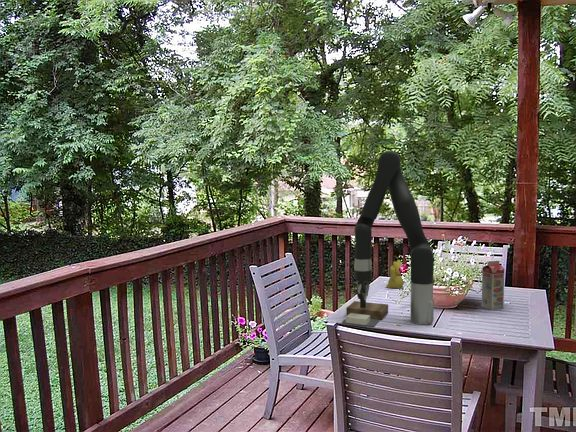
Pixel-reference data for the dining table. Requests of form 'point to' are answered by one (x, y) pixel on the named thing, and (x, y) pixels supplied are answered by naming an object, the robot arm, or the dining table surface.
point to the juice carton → (493, 286)
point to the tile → (358, 319)
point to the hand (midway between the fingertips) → (363, 307)
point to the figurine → (395, 276)
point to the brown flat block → (369, 310)
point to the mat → (370, 324)
